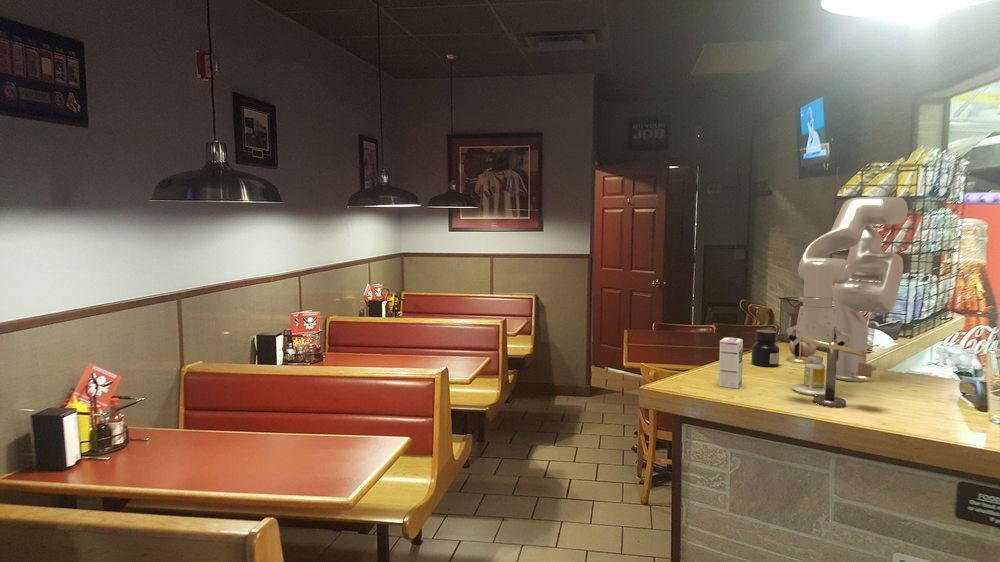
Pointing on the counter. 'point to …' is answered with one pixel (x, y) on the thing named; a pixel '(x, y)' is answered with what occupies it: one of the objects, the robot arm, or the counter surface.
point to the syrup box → (730, 362)
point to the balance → (834, 370)
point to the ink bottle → (765, 349)
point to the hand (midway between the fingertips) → (815, 359)
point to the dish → (803, 390)
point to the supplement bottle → (814, 374)
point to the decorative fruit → (804, 349)
